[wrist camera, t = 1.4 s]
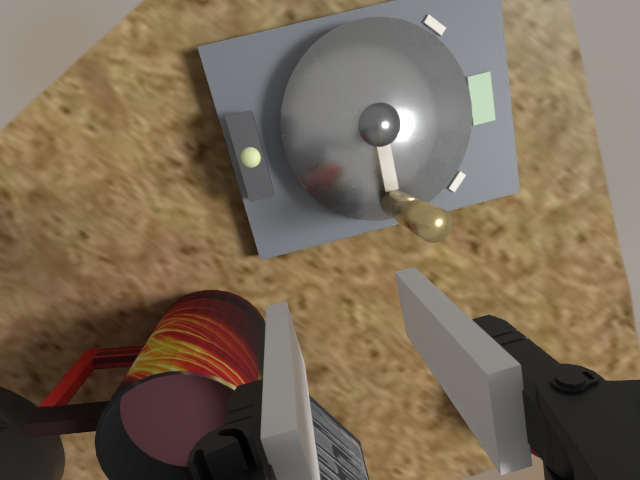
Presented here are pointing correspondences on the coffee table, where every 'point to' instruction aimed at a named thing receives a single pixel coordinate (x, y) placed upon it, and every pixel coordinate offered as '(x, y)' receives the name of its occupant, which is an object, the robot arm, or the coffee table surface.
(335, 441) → the small box
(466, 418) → the robot arm
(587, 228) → the coffee table surface
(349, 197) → the crank wheel
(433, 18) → the record turntable
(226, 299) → the mug
